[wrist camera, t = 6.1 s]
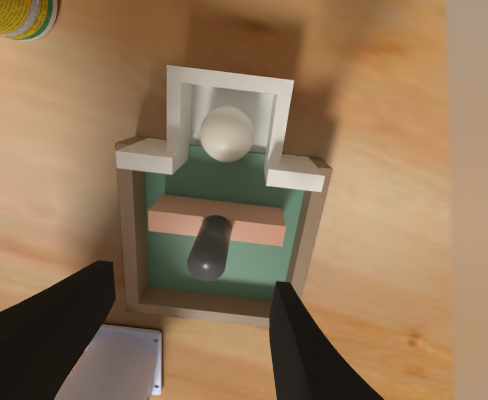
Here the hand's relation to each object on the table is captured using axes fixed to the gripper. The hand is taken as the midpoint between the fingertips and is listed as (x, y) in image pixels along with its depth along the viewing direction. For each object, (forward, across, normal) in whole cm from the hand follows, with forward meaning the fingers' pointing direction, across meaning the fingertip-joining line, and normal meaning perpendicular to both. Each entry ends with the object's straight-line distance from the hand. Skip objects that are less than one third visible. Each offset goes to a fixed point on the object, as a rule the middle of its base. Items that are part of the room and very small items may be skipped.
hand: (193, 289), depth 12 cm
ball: (+8, 0, -6) cm, 10 cm away
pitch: (+10, 0, 0) cm, 10 cm away
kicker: (+9, 0, 0) cm, 9 cm away
